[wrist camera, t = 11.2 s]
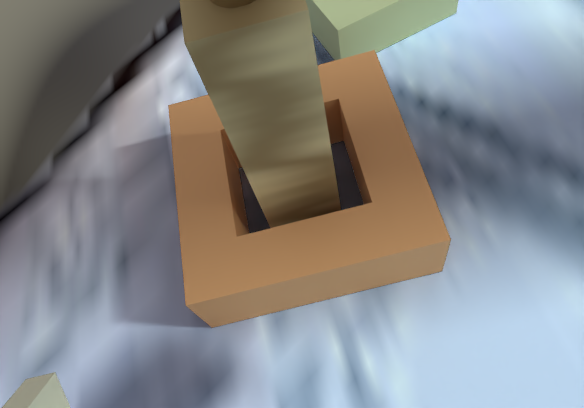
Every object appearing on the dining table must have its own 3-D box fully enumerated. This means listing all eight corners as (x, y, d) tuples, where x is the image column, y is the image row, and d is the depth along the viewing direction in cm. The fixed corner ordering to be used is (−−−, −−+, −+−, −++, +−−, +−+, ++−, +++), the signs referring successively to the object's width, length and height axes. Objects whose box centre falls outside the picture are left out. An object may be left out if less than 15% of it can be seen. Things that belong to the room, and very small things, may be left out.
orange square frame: (375, 95, 28) (374, 49, 25) (442, 271, 22) (450, 239, 19) (191, 144, 28) (168, 105, 25) (212, 327, 23) (185, 305, 20)
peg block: (327, 165, 26) (272, -135, 13) (343, 222, 24) (296, -61, 12) (264, 182, 26) (148, -99, 13) (275, 239, 25) (155, -21, 12)
